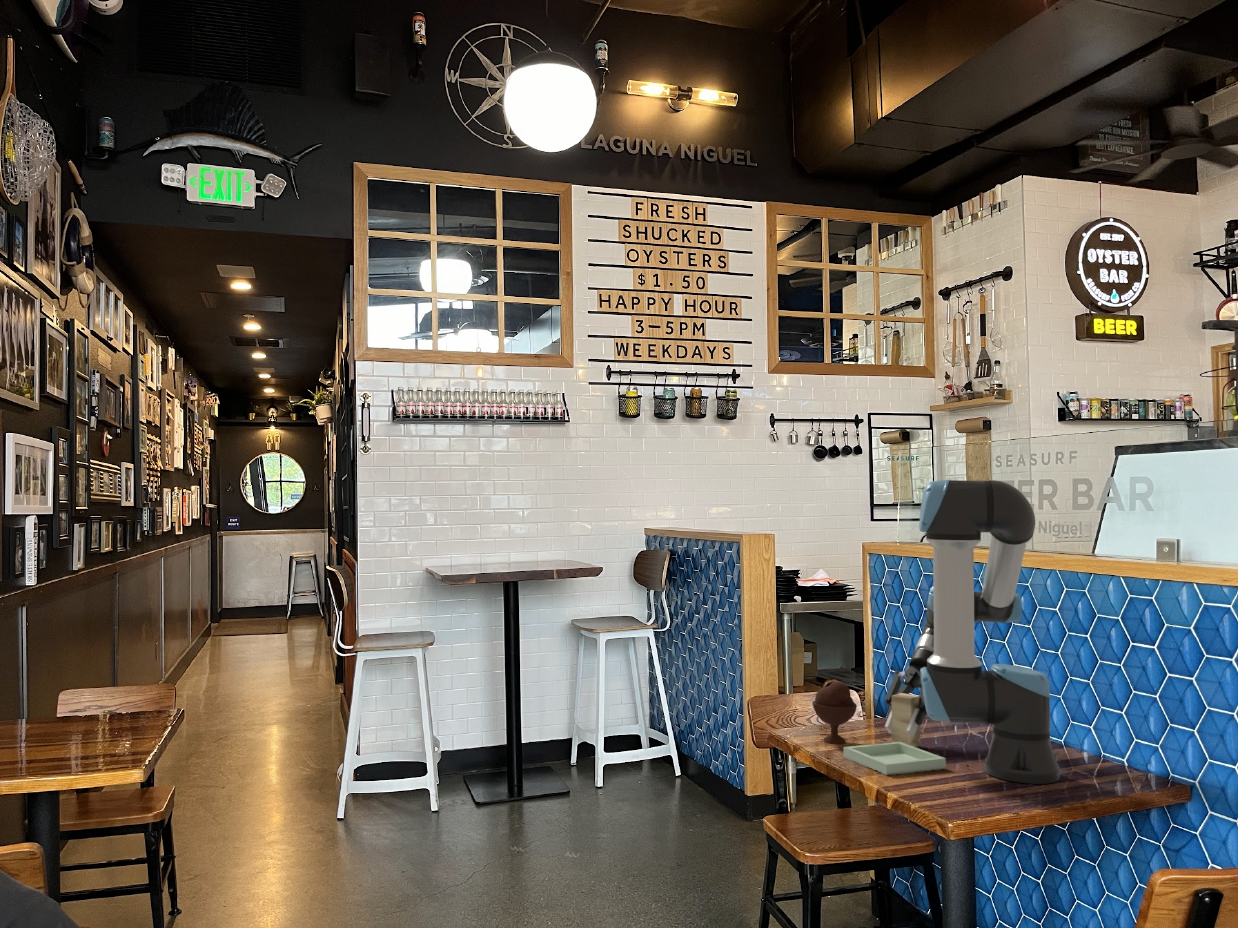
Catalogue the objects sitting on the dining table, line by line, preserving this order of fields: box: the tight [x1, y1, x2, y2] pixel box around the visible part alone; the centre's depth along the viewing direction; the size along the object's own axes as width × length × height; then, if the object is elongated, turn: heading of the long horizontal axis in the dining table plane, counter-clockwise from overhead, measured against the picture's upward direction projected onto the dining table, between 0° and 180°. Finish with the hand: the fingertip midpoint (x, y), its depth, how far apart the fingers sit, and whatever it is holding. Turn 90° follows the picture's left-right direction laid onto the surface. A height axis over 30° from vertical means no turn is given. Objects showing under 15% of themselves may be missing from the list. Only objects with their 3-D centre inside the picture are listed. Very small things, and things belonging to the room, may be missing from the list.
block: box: [891, 693, 921, 748], centre depth 225 cm, size 5×5×12 cm
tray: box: [843, 741, 947, 776], centre depth 209 cm, size 16×16×2 cm
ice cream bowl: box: [811, 681, 858, 745], centre depth 230 cm, size 11×11×15 cm
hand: (898, 731), depth 222 cm, fingers closed on block, 5 cm apart
